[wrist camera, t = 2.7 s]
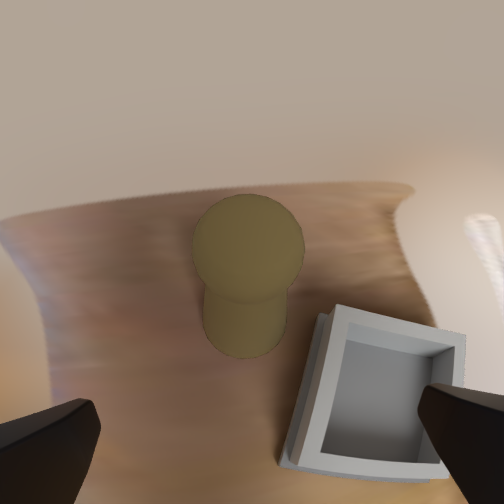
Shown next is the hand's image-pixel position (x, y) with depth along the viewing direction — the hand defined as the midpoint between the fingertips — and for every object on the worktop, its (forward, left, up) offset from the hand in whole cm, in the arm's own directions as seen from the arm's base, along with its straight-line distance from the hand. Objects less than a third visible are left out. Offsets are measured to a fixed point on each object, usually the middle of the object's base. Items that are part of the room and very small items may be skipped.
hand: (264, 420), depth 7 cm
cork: (+7, +2, -14) cm, 16 cm away
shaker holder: (+3, -8, -13) cm, 16 cm away
